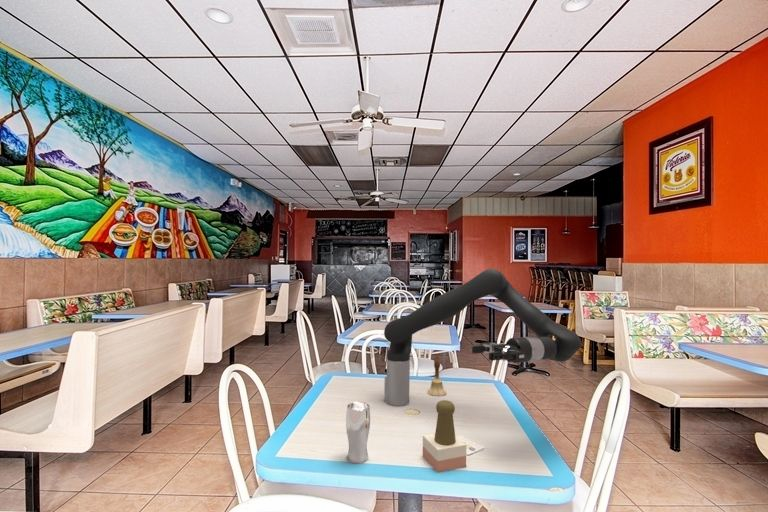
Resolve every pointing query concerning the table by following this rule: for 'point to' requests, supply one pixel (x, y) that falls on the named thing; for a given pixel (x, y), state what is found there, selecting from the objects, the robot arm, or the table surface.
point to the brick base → (444, 463)
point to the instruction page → (470, 446)
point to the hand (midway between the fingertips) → (480, 353)
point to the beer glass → (357, 431)
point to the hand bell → (436, 381)
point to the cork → (445, 423)
